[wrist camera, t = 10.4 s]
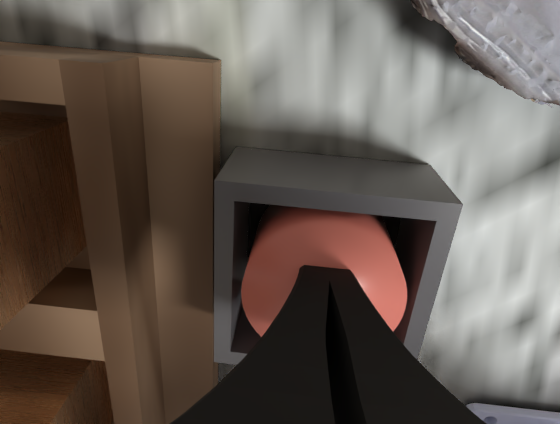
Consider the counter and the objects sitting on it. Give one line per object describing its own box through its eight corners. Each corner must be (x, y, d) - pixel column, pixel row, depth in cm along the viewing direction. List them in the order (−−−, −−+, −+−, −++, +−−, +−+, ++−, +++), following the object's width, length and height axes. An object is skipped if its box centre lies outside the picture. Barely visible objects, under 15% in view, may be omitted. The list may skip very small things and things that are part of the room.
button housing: (430, 164, 12) (462, 204, 10) (392, 318, 15) (409, 384, 12) (236, 146, 12) (214, 180, 10) (231, 301, 15) (213, 361, 12)
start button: (400, 189, 12) (424, 235, 10) (375, 304, 14) (389, 369, 12) (259, 176, 13) (243, 217, 10) (253, 290, 14) (238, 352, 12)
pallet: (221, 59, 11) (189, 72, 9) (217, 432, 18) (199, 509, 15) (-178, 26, 12) (-336, 26, 9) (-36, 401, 19) (-100, 470, 16)
